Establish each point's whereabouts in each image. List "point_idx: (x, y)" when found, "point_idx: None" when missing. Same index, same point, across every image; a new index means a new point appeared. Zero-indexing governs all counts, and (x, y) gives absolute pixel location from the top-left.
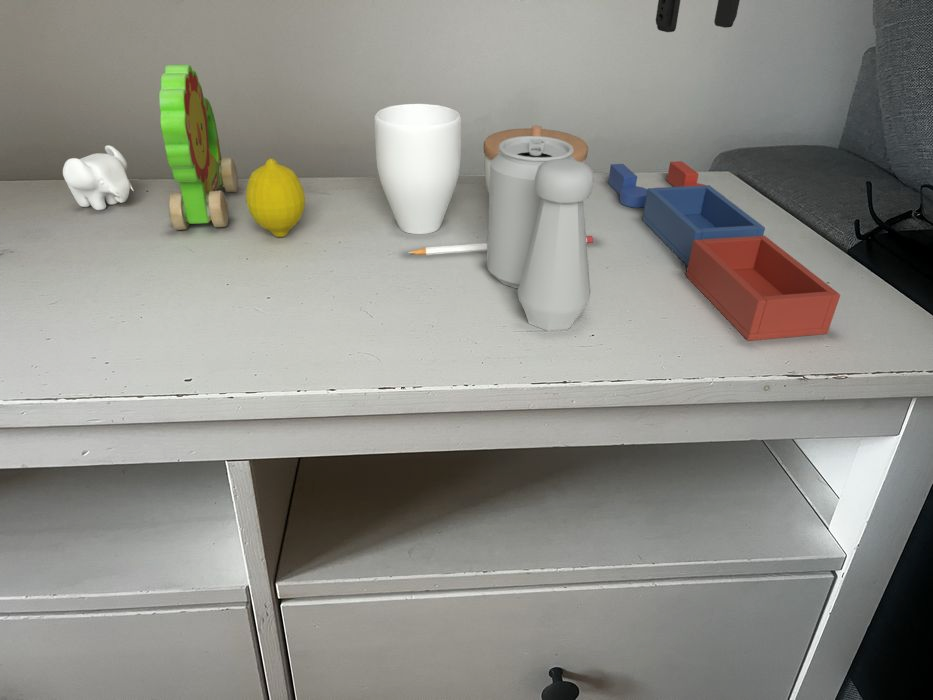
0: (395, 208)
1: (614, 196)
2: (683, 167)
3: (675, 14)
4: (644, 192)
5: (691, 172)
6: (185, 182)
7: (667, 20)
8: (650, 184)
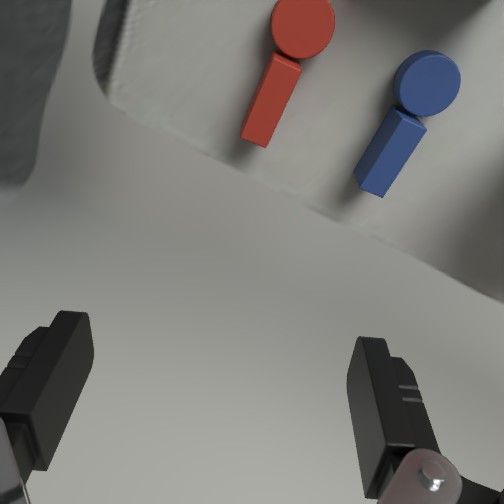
0: None
1: None
2: (271, 105)
3: (386, 378)
4: (424, 68)
5: (282, 72)
6: None
7: (399, 373)
8: (308, 137)
